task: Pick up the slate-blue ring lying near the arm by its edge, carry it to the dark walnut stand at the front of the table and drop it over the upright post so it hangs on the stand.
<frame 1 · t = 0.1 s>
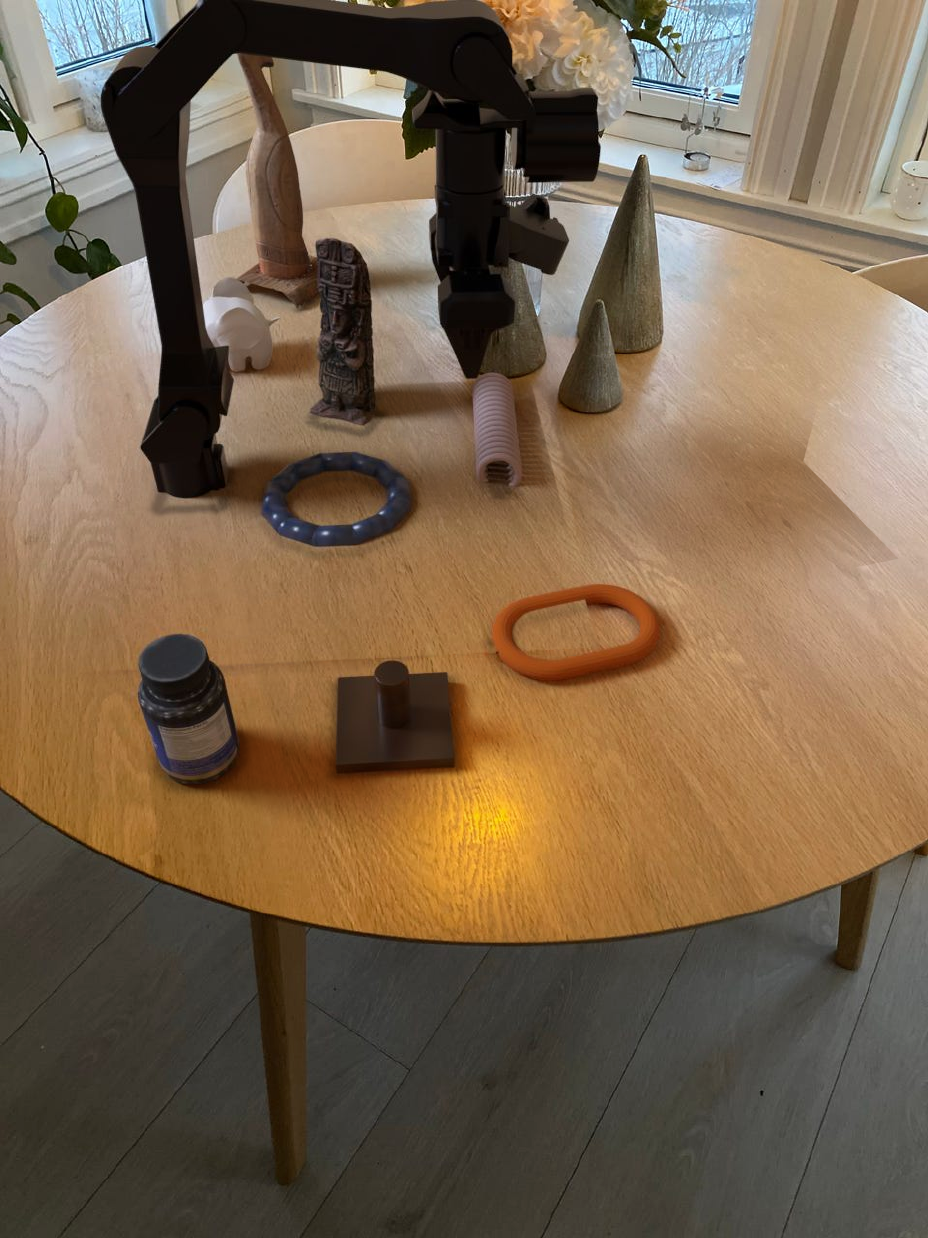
hand: (467, 353, 91), 15 cm above the table, tool pointing down, fingers open, 9 cm apart
orange oval loop: (574, 638, 84), on the table
pill bottle: (201, 757, 74), on the table
stand: (394, 725, 76), on the table
ring: (337, 498, 96), point 1 cm above the table
coil: (494, 449, 105), on the table
elephant figurine: (237, 362, 119), on the table
statue: (349, 415, 110), on the table
bird sculpture: (287, 287, 134), on the table
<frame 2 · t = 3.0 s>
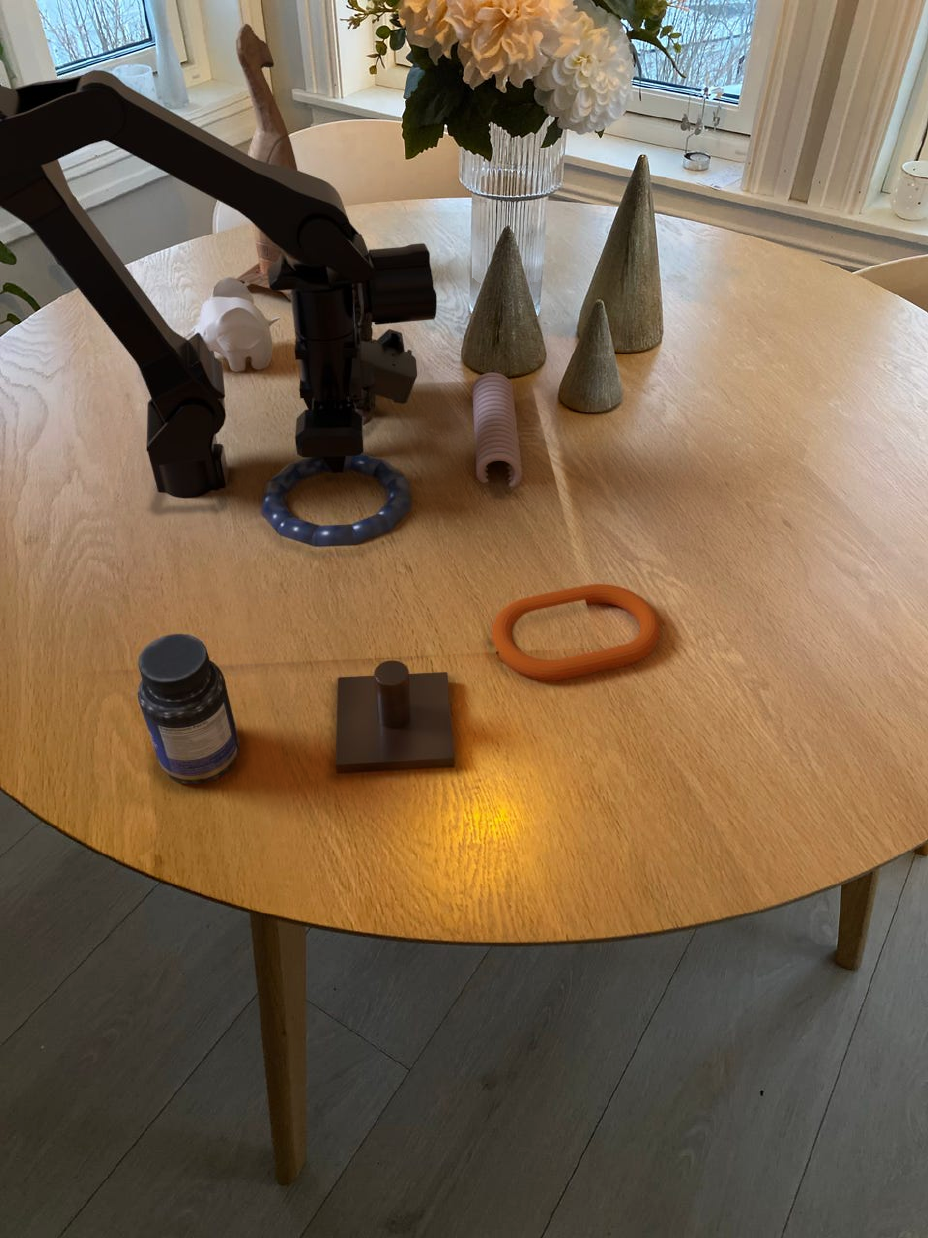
hand: (338, 465, 101), 1 cm above the table, tool pointing down, fingers closed on ring, 2 cm apart
ring: (337, 498, 96), point 1 cm above the table, touching gripper
everything else where it was.
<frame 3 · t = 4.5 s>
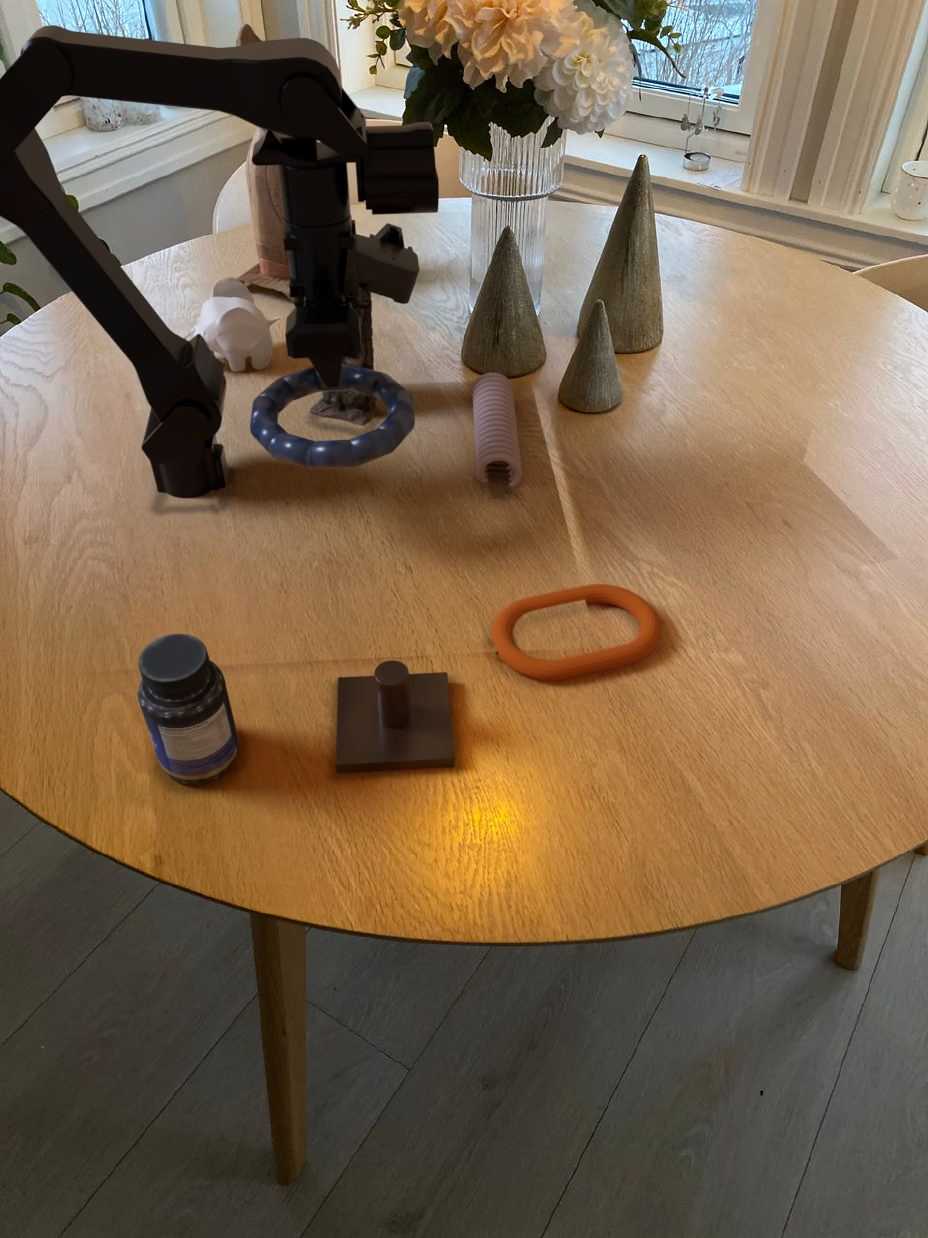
hand: (333, 379, 92), 12 cm above the table, tool pointing down, fingers closed on ring, 2 cm apart
ring: (333, 414, 88), point 12 cm above the table, touching gripper
everything else where it was.
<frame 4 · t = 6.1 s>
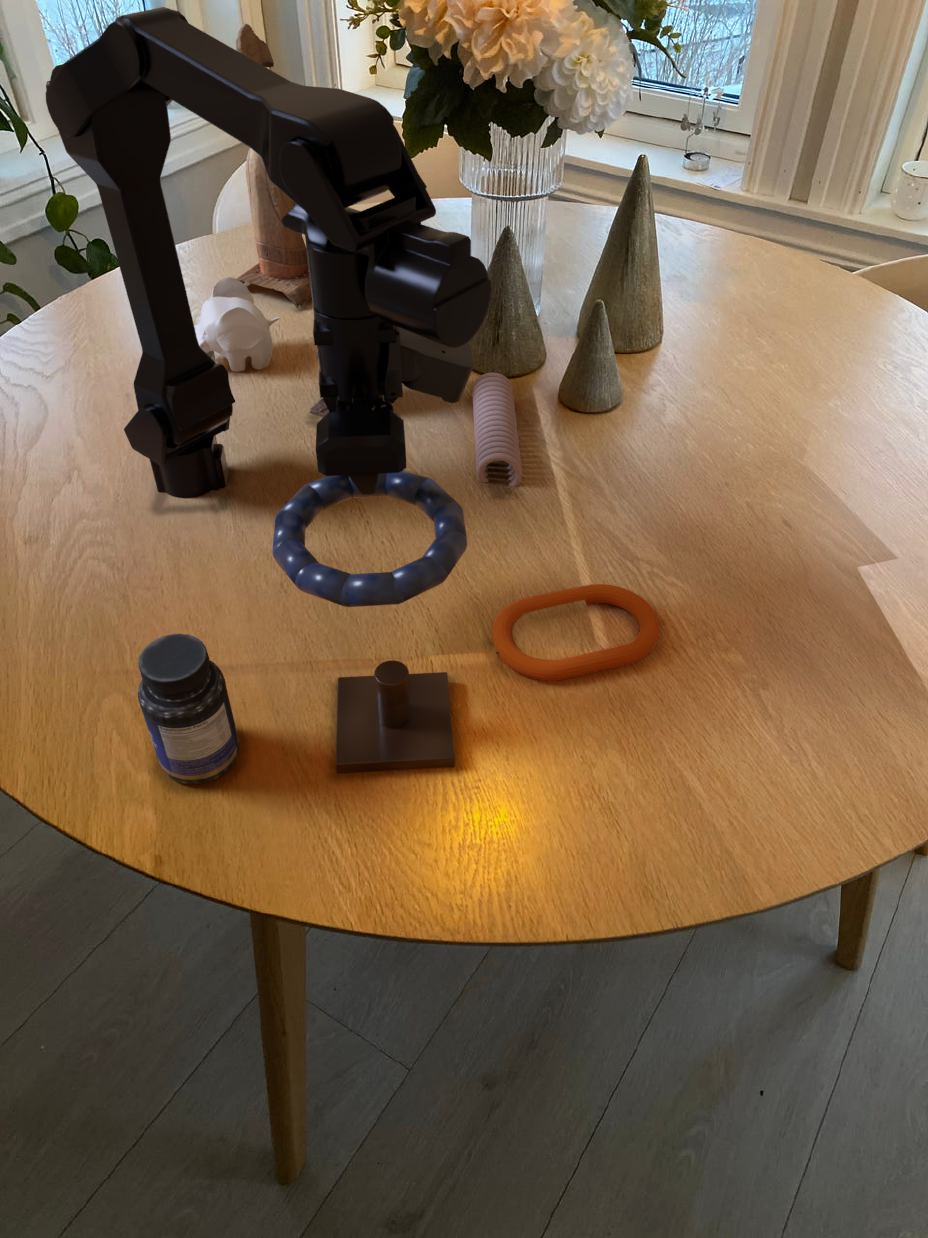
hand: (367, 483, 78), 13 cm above the table, tool pointing down, fingers closed on ring, 2 cm apart
ring: (370, 532, 74), point 13 cm above the table, touching gripper
everything else where it was.
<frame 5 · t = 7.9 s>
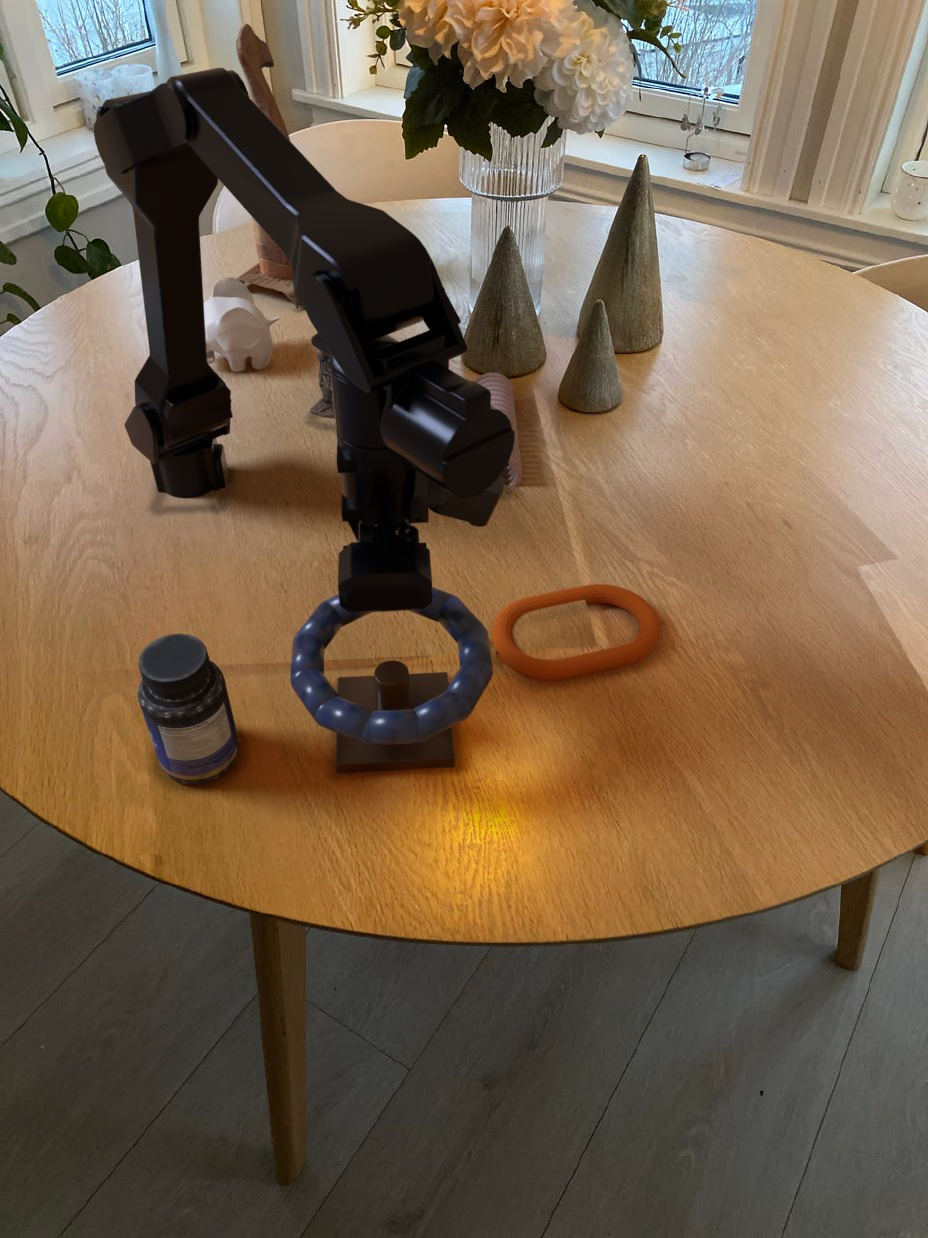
hand: (388, 597, 75), 8 cm above the table, tool pointing down, fingers closed on ring, 2 cm apart
ring: (391, 658, 71), point 8 cm above the table, tilted 6°, touching gripper
everything else where it was.
when the fingers open (5 cm above the table, at t = 9.2 s): ring drops 1 cm, resting on stand.
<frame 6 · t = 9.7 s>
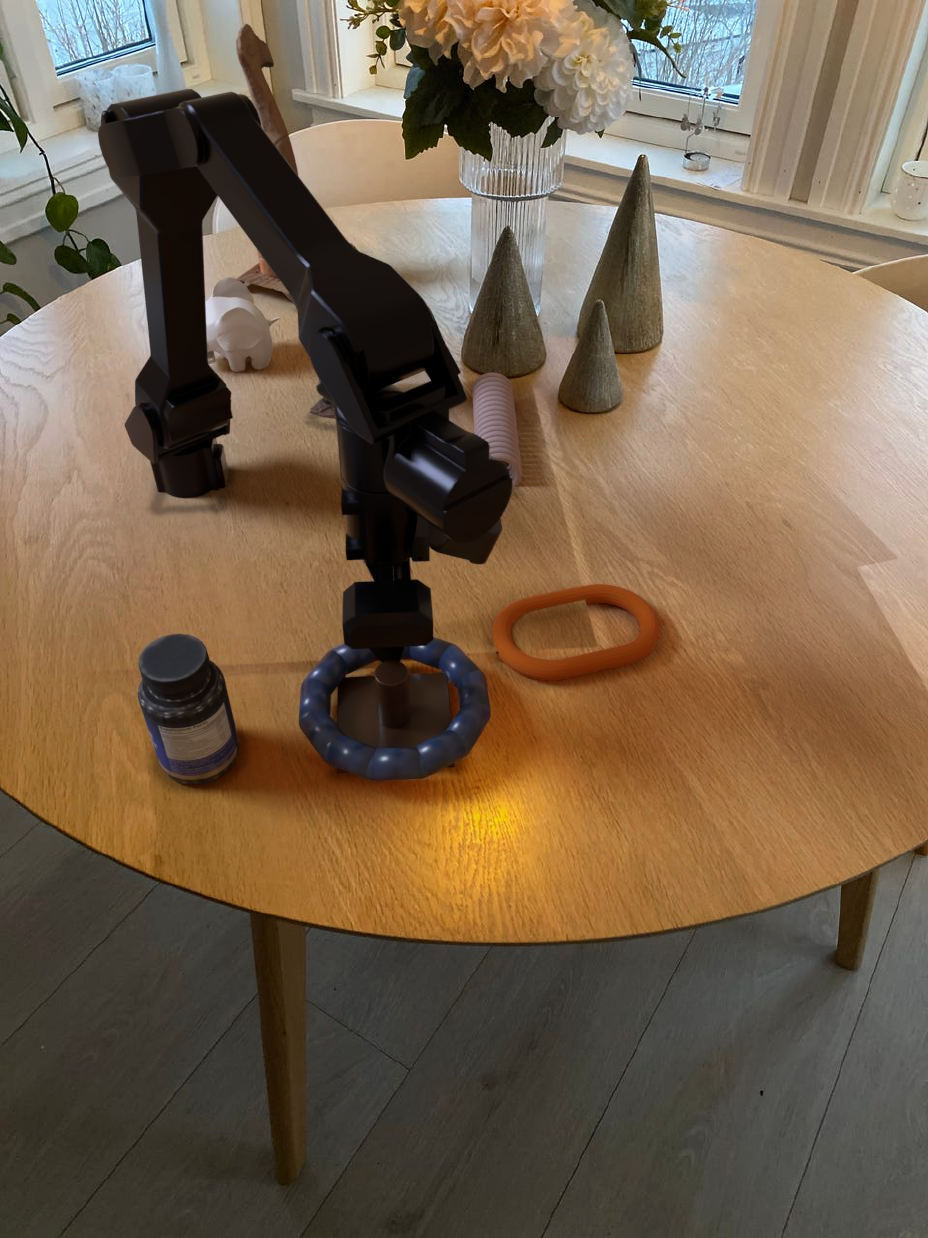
hand: (390, 629, 78), 5 cm above the table, tool pointing down, fingers open, 8 cm apart
ring: (394, 701, 75), point 2 cm above the table, touching stand
everything else where it was.
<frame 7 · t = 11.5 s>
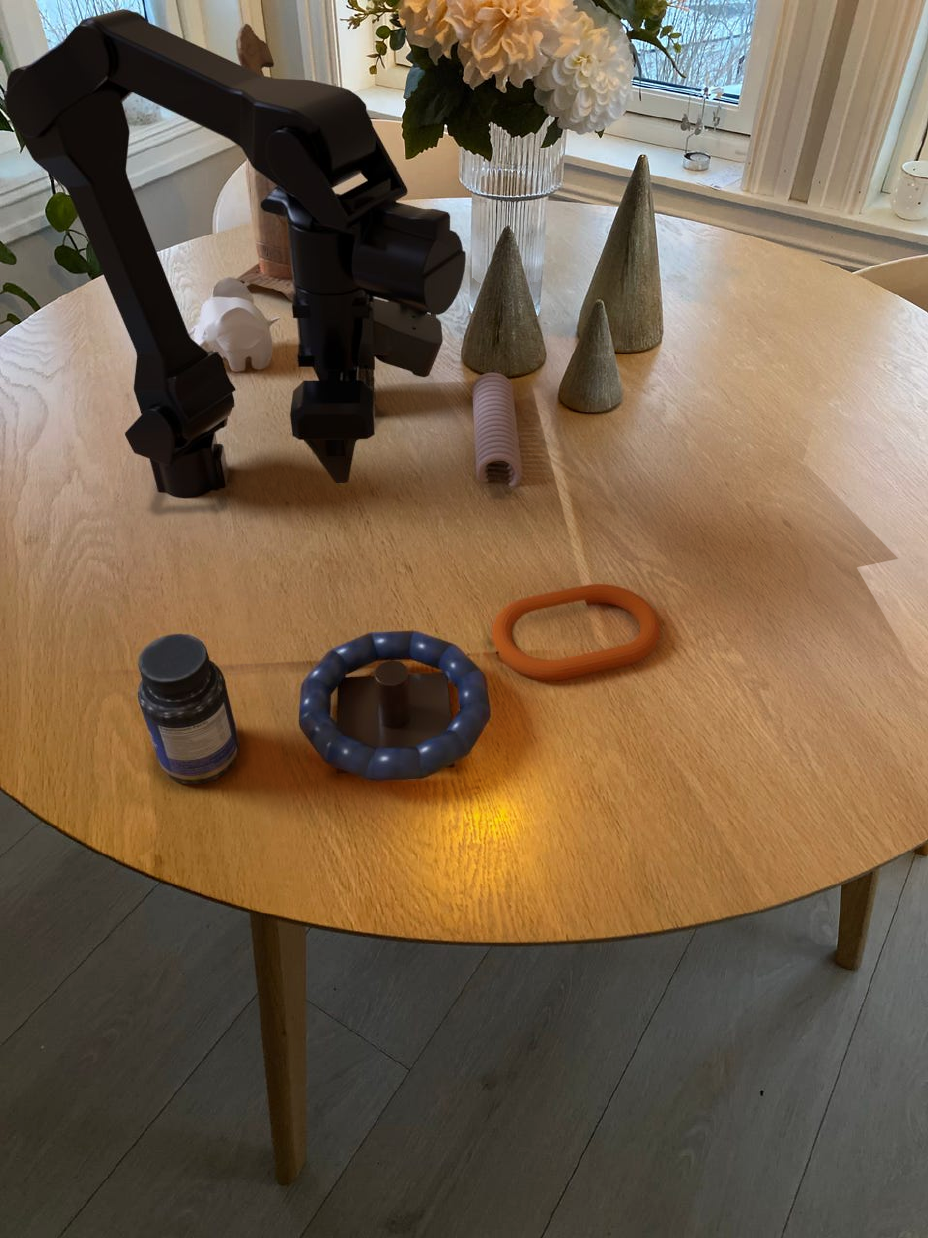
hand: (343, 451, 84), 12 cm above the table, tool pointing down, fingers open, 9 cm apart
nothing on the table moved.
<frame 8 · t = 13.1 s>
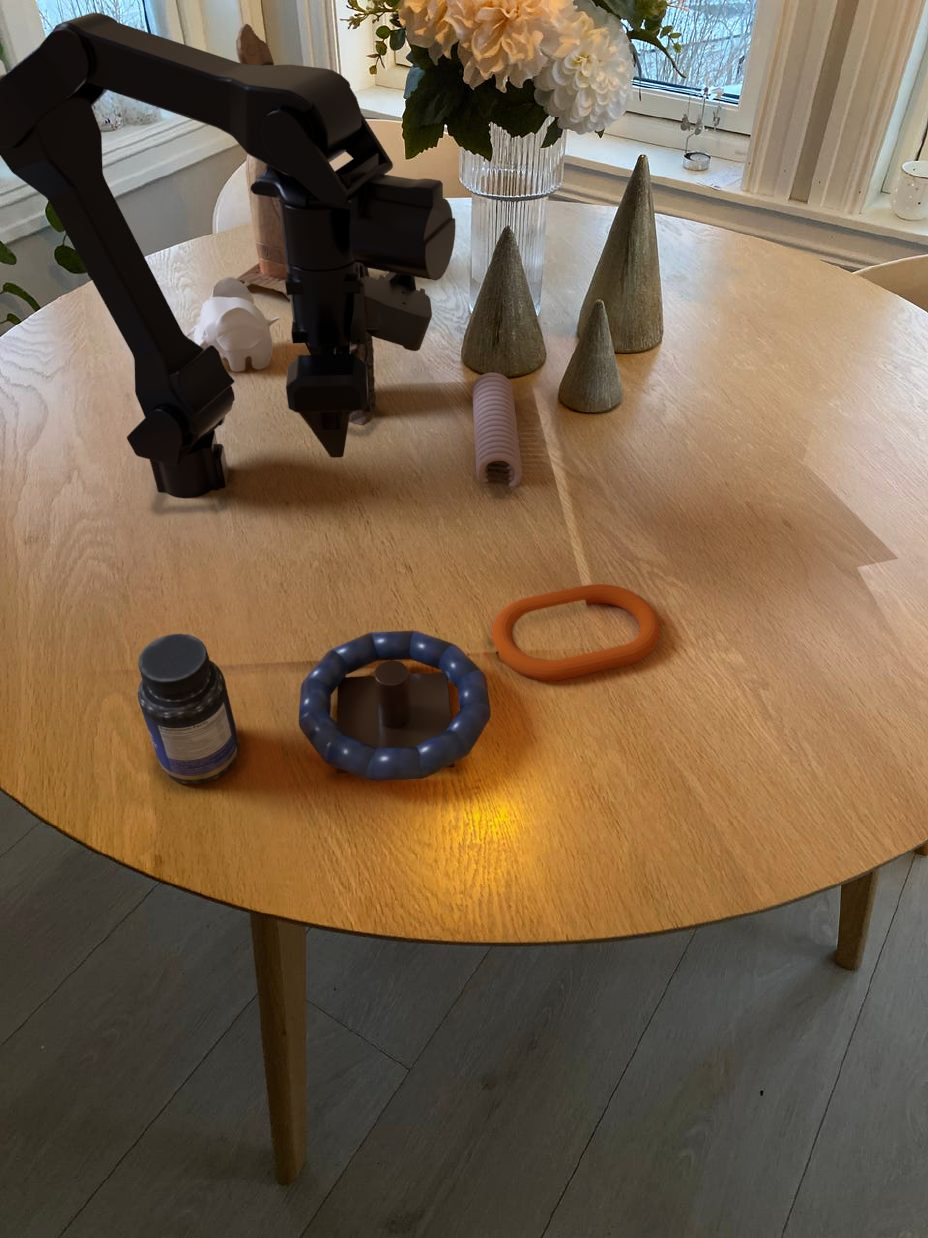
hand: (338, 427, 86), 12 cm above the table, tool pointing down, fingers open, 9 cm apart
nothing on the table moved.
at the end: ring 0.5 cm off-centre on the stand, point 2.4 cm above the stand's base; the gripper is holding nothing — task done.
